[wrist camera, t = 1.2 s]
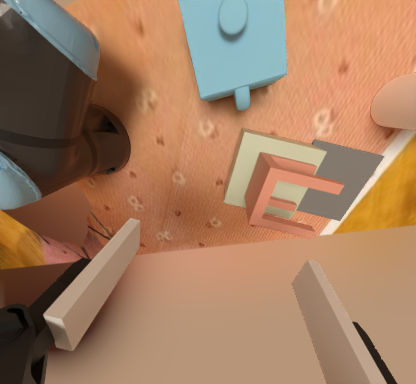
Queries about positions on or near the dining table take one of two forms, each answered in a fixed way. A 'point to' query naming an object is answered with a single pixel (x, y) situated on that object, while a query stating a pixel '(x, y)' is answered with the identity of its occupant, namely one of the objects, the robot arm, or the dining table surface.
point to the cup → (396, 103)
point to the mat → (339, 179)
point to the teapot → (235, 46)
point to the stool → (261, 197)
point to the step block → (246, 160)
